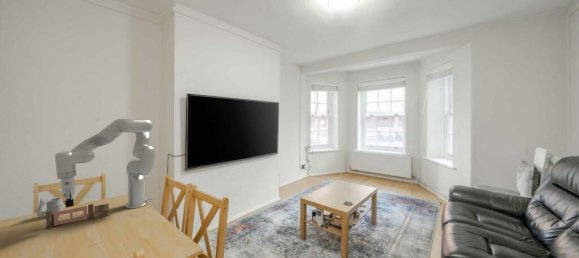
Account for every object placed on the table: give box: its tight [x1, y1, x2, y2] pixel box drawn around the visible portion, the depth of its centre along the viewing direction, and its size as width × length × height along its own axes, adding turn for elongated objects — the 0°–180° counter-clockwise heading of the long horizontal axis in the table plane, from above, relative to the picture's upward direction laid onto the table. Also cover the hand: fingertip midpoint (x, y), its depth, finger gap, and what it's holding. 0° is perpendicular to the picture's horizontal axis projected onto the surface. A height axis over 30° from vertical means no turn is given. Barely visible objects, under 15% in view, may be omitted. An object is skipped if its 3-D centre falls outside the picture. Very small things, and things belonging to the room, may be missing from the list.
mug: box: [35, 197, 64, 218], centre depth 135 cm, size 8×12×12 cm, turn 162°
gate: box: [53, 205, 88, 227], centre depth 129 cm, size 14×2×7 cm, turn 132°
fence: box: [45, 203, 110, 230], centre depth 131 cm, size 26×4×8 cm, turn 133°
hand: (69, 206), depth 124 cm, fingers closed
